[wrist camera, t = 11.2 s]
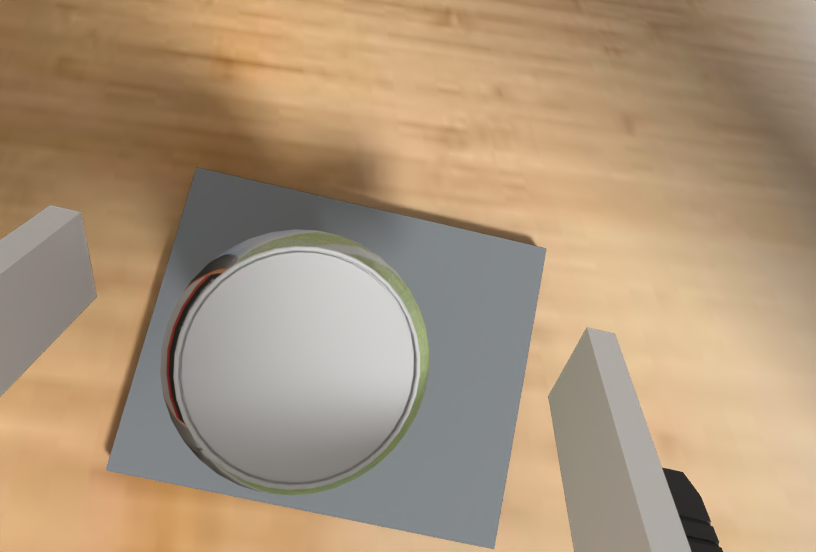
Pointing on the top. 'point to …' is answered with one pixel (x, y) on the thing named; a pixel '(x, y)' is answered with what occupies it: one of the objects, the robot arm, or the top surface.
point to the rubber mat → (448, 359)
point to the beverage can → (294, 362)
